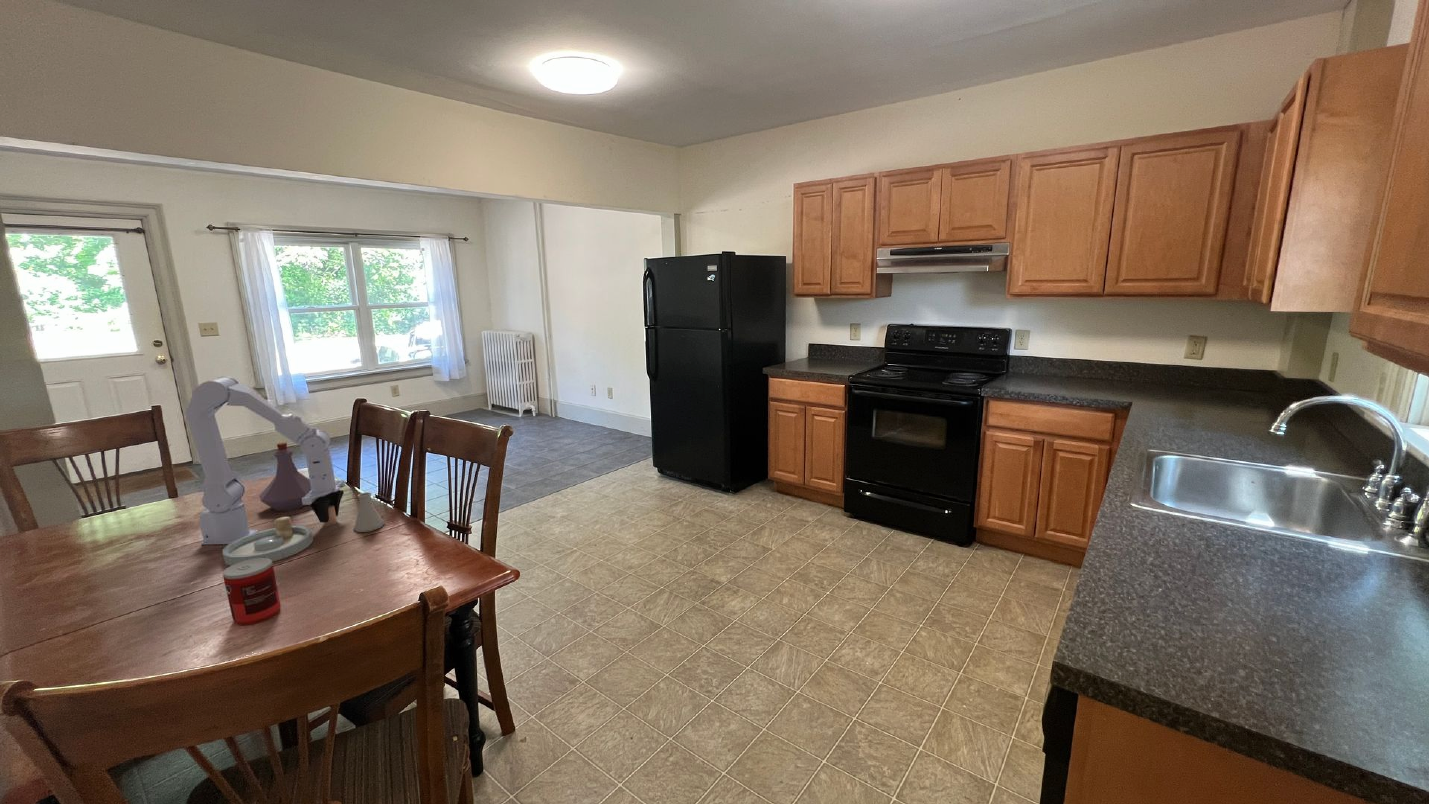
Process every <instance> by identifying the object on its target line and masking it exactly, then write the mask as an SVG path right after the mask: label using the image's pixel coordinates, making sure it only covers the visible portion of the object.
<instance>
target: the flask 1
mask: <svg viewBox="0 0 1429 804" xmlns="http://www.w3.org/2000/svg"><path fill="white" fill-rule="evenodd" d="M276 447H277V450H276V451H275V452H274V453H273V455H274V456H275V458H276V460H277V462H276V463H277V466H276V470H275V471H276V472H275V476H274V477H273V479H272V480H271V481H270V483H269V484H268V485H267V486H266V487H265V488H264V490H263V491H262V492H261V493H260V495H259V496H258V497H259V499H260V502H261V503H263V504H265V505H266V506H268V507H270V508H272V509H273V510H276V511H290V510H294V509H299V508H303V507H305V506H306V505H303V503H302V498H303V497H305V496H306V495H307V494H308V493H309V492H310V491H311V485H310V479H309V477H307V476H305V475H304V474H302V473H301V472H300V471H298V469H297V467H296V465H295V463H294V461H293V457H292V456H293V453H294V451H293V450H292V449H290V448H288V444H287V442H280V443H277V444H276Z"/></svg>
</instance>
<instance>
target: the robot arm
mask: <svg viewBox="0 0 1429 804" xmlns="http://www.w3.org/2000/svg"><path fill="white" fill-rule="evenodd" d="M191 394H192V395H191V398H190V399H189V400H190V401H189V403H188V405H187V407H186V410H185V415H186V418H187V419H186V420H187V421H188V422H187V423H188V425H189V428H190V429H189V430H190V431H191V435H192V438H193V441H194V445H195V448H196V451H197V455H198V458H199V461H200V465H201V467H202V470H203V474H204V480H203V481H204V482H203V484H202V490H203V496H202V499H201V504H202V505H203V507H204V508H205V509H204V510H203V511H202V513H200V516H199V519H198V520H199V521H198V523H199V526H200V531H201V537H202V542H200V545H228V544H230V543H232V542H234V541H235V540H237V539H239V538H242V537H245V536H247V535H250V534H253V533H256V532H260V531H259V529H250V526H249V523H248V522H249V521H248V517H247V516H248V515H247V511H246V507H245V503H244V500H243V499H242V497H243V496H244V495H245V492H246V488H245V485H244V484H243V483H242V481H240V480H239V479H238V475H237V473H235V472H234V471H233V470H231V467H230V463H229V462H230V461H229V460H228V459H229V458H228V457H227V453H226V449H225V446H224V443H223V439H222V436H221V432H220V430H219V426H218V423H217V419H216V415H215V414H216V413H217V412H218V411H219V410H220V409H221V408H222V407H224V405H225V404H226V406H229V407H230V406H231V407H234V406H236V407H245V408H246V409H248V410H249V411H251V412H252V413H255V414H256V415H259V416H261V418H263V419H265V420H267V421H269V422H270V423H272V424H273V426H274V430H275V431H276V432H277V433H279V434H280V435H282V436H284V437H285V438H286V439H288V440H289V441H291V442H293V443H295V444H296V445H298V446H299V449H300V451H301V452H302V453H303V454H304V455H305V460H306V462H305V463H306V467H307V472H308V478H309V479H310V485H311V491H310V492H309V493H308V494H307V495H306V496H305V497H303V498H302V503H303V505H305V506H309V508H310V509H311V510H312V511H313V513H314V514H315V516H316V517H317V519H318V520H319V522H320V523H322V522H328V521H329V512H328V508H329V505H334V507H335V513H336V518H337V517H338V516H339V511H340V504H341V501H342V498H343V495H344V494H345V492H344V489H343V490H342V489H340V488H344V487H346V481H345V480H344V479H338V480H336V479H335V473H334V467H333V462H332V461H333V460H332V457H331V456H332V455H331V454H330V453H331V452H330V448H329V446H330V443H331V438H330V435H329V434H328V433H326V431H325V430H322V429H321V430H320V429H318V428H317V427H315V426H314V427H313V426H311V425H309V424H308V423H306V422H305V421H303V420H302V419H303V417H302V416H300V415H299V414H297V415H294V414H293V413H287V414H285V413H283V412H281V410H280V409H279V410H278V409H277V408H276V407H274V405H272V404H270V403H269V402H268V401H266V400H265V399H263V398H262V397H261V396H260V395H258V394H257V393H255V391H252V390H251V389H250V387H248V386H247V385H245V384H244V383H242V382H239V381H238V380H237V379H235V378H233V377H231V376H219V377H217V378H215V379H211V380H207V381H203V382H202V383H200V384H199V385H198V386H197V387H196V388H194V389H193V390H192V391H191Z"/></svg>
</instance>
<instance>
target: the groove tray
mask: <svg viewBox="0 0 1429 804" xmlns="http://www.w3.org/2000/svg"><path fill="white" fill-rule="evenodd" d="M291 526H292V531H293V536H292V537H290V538H287V539H283V536H277V533H276V528H275V527H274V528H268V529H264V530H261V531H259V532H256V533H253V534H250V535H247V536H245V537H242V538H239V539H237V540H235V541H234V542H232V543H230V544H226V546H225V547H224V548H223V549H222V556H223V560H224V564H225V565H227V566H229V567H230V566H232V565H234V564H236V563H239V562H242V561H246V560H250V559H256V558H268V559H271V561H272V563H273V562H277V561H279V560H283V559H286V558H289V557H291V556H293V555H296V554H298V553H300V552H301V551H303V550H305V549H306V548H308V547H310V546H311V544H312V543H313V541H314V537H313V533H312V532H313V531H312V529H310V527H308V526H303V525H291Z"/></svg>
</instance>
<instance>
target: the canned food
mask: <svg viewBox="0 0 1429 804" xmlns="http://www.w3.org/2000/svg"><path fill="white" fill-rule="evenodd" d="M222 574H223V575H222V577H223V582H224V587H225V592H226V594H227V595H226V596H227V600H228V604H229V608H230V613H231V617H232V618H231V619H232V621H234V623H235V624H236V625H239V626H249V625H250V626H251V625H256V624H260V623H262V622H265V621H267V620H270V619H272V618H273V617H274V616H276V615H277V614H278V613H279V612H280V610H281V606H282V605H281V599H280V594H279V590H278V585H277V579H276V575H275V574H276V573H275V568H274V564H273V562H272V561H271V559H268V558H256V559H250V560H246V561H242V562H239V563H236V564H234V565H232V566H230V565H229V566H228V567H227V568H225V569H224V570H223V572H222Z"/></svg>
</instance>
